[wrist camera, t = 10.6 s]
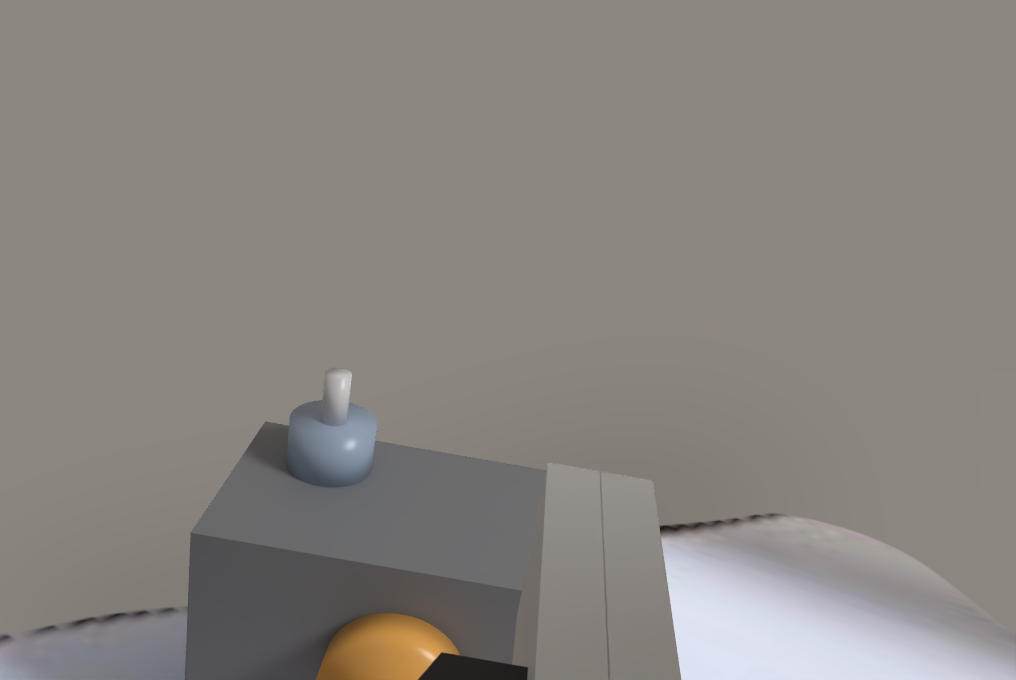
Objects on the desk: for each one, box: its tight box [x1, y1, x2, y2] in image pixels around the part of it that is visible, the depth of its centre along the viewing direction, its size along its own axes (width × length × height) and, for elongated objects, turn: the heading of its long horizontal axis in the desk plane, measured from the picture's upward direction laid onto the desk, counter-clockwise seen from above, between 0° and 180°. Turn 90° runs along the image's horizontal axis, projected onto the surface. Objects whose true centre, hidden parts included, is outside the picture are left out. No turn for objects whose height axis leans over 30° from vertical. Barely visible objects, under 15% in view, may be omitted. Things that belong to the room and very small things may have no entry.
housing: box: [185, 422, 546, 680], centre depth 46 cm, size 18×10×14 cm, turn 86°
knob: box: [316, 613, 460, 680], centre depth 42 cm, size 6×8×6 cm
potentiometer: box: [286, 368, 377, 488], centre depth 44 cm, size 4×4×5 cm
